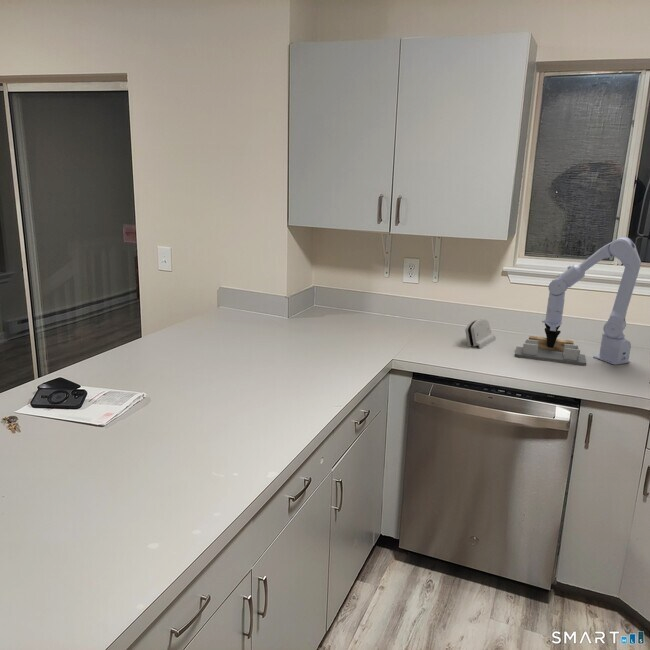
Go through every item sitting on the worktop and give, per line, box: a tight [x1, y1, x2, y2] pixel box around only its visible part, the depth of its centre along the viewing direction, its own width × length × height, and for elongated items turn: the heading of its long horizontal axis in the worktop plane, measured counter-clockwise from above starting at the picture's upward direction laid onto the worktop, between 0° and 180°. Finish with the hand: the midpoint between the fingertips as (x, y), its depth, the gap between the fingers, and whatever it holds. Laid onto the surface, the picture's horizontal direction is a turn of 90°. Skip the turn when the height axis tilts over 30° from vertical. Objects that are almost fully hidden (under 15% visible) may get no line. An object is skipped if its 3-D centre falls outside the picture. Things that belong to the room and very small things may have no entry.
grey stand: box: [464, 319, 497, 350], centre depth 230 cm, size 17×5×10 cm, turn 144°
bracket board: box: [514, 338, 587, 367], centre depth 214 cm, size 24×10×5 cm, turn 70°
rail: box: [528, 335, 575, 352], centre depth 224 cm, size 16×3×4 cm, turn 69°
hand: (550, 344), depth 224 cm, fingers open, 7 cm apart
